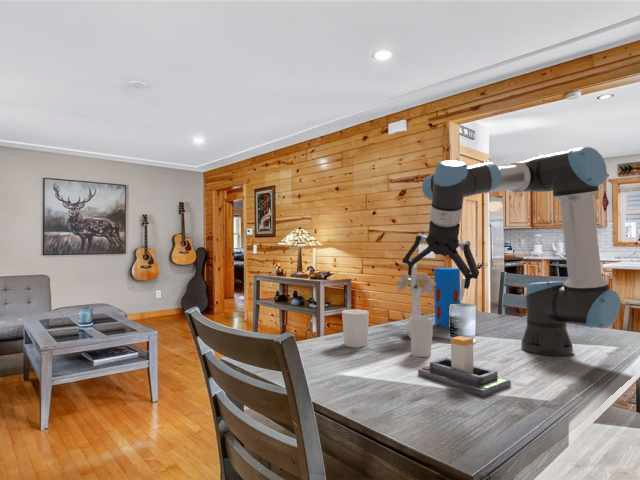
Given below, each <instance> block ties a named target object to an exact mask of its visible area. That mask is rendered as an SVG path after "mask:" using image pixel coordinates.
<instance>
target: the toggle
mask: <svg viewBox="0 0 640 480" xmlns="http://www.w3.org/2000/svg"><path fill="white" fill-rule="evenodd" d="M450 351H451V352H450V357H451V358H450V359H451V367H452V368H455V369H459V370H462V371H465V372H469V373H472V374H474V372H473V365H474V338H472V337H466V336H462V335H458V336H455V337H450Z"/></svg>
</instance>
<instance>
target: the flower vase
mask: <svg viewBox="0 0 640 480" xmlns="http://www.w3.org/2000/svg"><path fill="white" fill-rule="evenodd" d="M400 279H401V280H396V285H397V287H398V288H397V292H398V293H399V292H401V291H402V290H406V287H407V286H408V287H410V285H411V276H410V275H408V273H407V275H405V274H404V273H401V275H400ZM435 285H436V283H435V282H434V281H431V275H428V276H426V274H425V273H418V274H416V284H415V285H414V287H413V288H412V287H410V288H409V289H410V292H411V294H410V295H411V301H412V302H411V303H412V304H411V306H412V307H411V315H410V317H414V316H422V313H421V312H422V311H421V293H424V292H425V293H427V294H429V295H432V294H433V288H432V287H434V286H435ZM403 329H404V332H405V333H406V334H407V336H408V337H409V338H410V339H411V328H410V318H408V320H407V321H406V323H404V327H403Z"/></svg>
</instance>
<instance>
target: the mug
mask: <svg viewBox="0 0 640 480" xmlns="http://www.w3.org/2000/svg"><path fill="white" fill-rule="evenodd" d="M409 319H410V328H411V338H410V347H411V348H410V350H411V352H410V353H411V355H412V356H414V357H418V358H428V357H431V356H432V342H433V335H434V326H433V322H432V317H430V316H423V315H421V316H414V317H411V316H410V317H409Z"/></svg>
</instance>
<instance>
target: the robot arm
mask: <svg viewBox="0 0 640 480" xmlns="http://www.w3.org/2000/svg"><path fill="white" fill-rule="evenodd" d="M606 165H607V164H606V162H605V159H604V157H603V156H602V153H600V152H599V151H598V150H597V149H595V148H593V147H592V146H591V147H590V146H583V147H574V148H570V149H566V150H562V151H558V152H557V151H556V152H554V153H553V152H552V153H548V154H543V155H542V154H541V155H539V156H536V157H532V158H529V159H527V160H523V161H516V162H513V163H510V164H509V165H508V166H507V165H506V166H498V165H497V164H496V163H494V162H481V163H477V164H473V165H469V166H468V165H467V164H466V162H464V161H461V160H442V161H439V162H438V163H437V164H436V166H435V171H434V173H433V174H430V175H427V176H425V178H424V179H423V181H422V183H421V184H422V185H421V186H422V193H423V195H424V196H425V198H427V199H428V200H431V205H430V207H431V208H430V214H429V215H430V219H429V220H430V221H429V225H428V226H429V227H428V234H427V235H424V234H423V233H422V232H418V233H417V235H416V236H415V239H414V240H415V241H414V243H413V245H411V247H410V249H409V250H408V252H407V253H406V254H405V256H404V257H403V259H402V260H401V261H402V263H403V264H406V265H408V269H407V274H408V275H410V276H411V285H410V286H409V287H410V288H411V287H412V288H413V287H414V285H415V284H416V275H418V274H417V272H418V262H419V261H421V260H422V259H424V258H425V256H427V255H429V254H430V253H433V254H434V255H441V256H442V257H447V256H449V258H450V259H451V260H452V262H453V263H454V264H455V265H456V266H457V267H456V268H459V270H460V273H461V274H462V275H463V276H462V278H461V282H460V296H459V299H460V301H462V300H463V299H464V296H465V291H466V290H468V289H469V287H470V286H471V281H472V279H474V280H475V279H476V280H477V279H478V277H479V275H480V271H479V269H478V266H477V263H476V261H475V258H474V256H473V253H472V250H471V241H468V240H467V241H465V242H462V241H459V235H460V234H459V233H460V226H461V225H460V223H461V219H462V212H463V205H464V198H467V197H471V196H476V195H481V194H488V193H497V192H507V191H510V192H514V193H522V192H524V193H525V192H531V193H532V192H538V193H539V192H541V193H542V192H552V195H553V198H554V199H556V200H557V201H558V202H559V206H560V217H561V225H562V233H563V241H564V242H563V244H564V251H565V260H566V270H567V276H568V277H567V279H566V280H565V281H564V280H555V281H540V282H539V281H538V282H531V283H528V284H527V285H526V294H525V297H526V298H525V299H526V301H525V302H526V303H525V305H526V327H525V330H524V333H523V336H522V337H521V341H520V343H521V344H520V345H521V349H522V350H524V351H526V352H528V353H533V354H537V355H543V356H550V357H551V356H555V357H562V356H563V357H564V356H571V355H573V354H574V347H573V343H572V340H571V338H570V335H569V332H568V330H567V324H571V325H578V326H582V327H588V328H593V329H595V328H596V329H607V328H609V327H610V326H613V324H614V323H615V322H616V320H617V318H618V317H619V313H620V309H621V297H620V295H619V294H618V292H617V291H616V290H613V289H610V285H609V281H608V280H607V279H605V278H604V276H602V267H601V258H600V247H599V239H598V238H599V237H598V230H597V219H596V211H595V210H596V209H595V201H594V199H595V196H596V195H597V194H598V193H599V192H600V191H599V190H600V189H599V186H601V185H602V184H603V183H605V181H606V178H607V173H608V171H607V166H606ZM424 242H426V244H427V247H426V248H424V249H423V250H422V251H421V252H419V253H417V254H416V255H415V256H414V257H412V255H413V254H414V253H415V251H416V250H417V248H418V247H419V246H420V244H422V243H424ZM458 248H460V250H461V251H462V252H463V255H464V258H465V261H466V262H465V261H464V260H463V258H462V257H461V255H460V254H459V251H458V250H457V249H458ZM411 257H412V258H411ZM466 263H467V264H466Z"/></svg>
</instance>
